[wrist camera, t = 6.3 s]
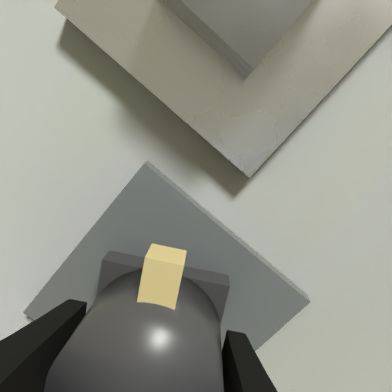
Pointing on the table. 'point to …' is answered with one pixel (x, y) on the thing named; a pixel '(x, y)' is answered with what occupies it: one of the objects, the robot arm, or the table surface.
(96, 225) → the coaster
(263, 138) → the grey square holder
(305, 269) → the table surface
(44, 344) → the robot arm
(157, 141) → the table surface
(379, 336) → the table surface
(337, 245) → the table surface
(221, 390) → the dark grey rounded piece
